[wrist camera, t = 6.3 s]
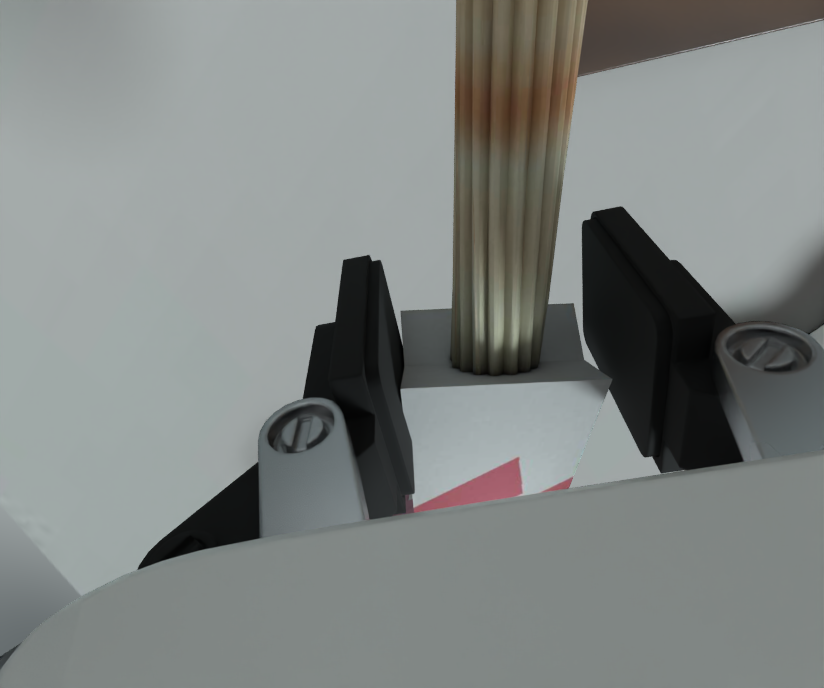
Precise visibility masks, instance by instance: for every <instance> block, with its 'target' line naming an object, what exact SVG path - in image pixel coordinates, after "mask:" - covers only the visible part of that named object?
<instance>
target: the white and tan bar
mask: <svg viewBox="0 0 824 688" xmlns="http://www.w3.org/2000/svg"><path fill="white" fill-rule="evenodd" d="M587 3H588V0H456V70H455V147H454V223H453V292H452V309H432V310H409V311H401V324H402V338H403V352H404V372H403V377H402V383H401V388H400V389H401V398H402V407H403V413H404V416H405V419H406V423H407V426H408V429H409V433H410V436H411V439H412V446H413V464H414V482H415V493H414V494H412V497H413V506H414V513H416V512H422V511H429V510H435V509H441V508H447V507H454V506H460V505H466V504H472V503H479V502H485V501H491V500H498V499H504V498H511V497H517V496H523V495H530V494H536V493H543V492H549V491H556V490H562V489H569V486H570V484H571V481H572V479H573V476H574V474H575V471H576V469H577V466H578V464H579V461H580V459H581V456H582V454H583V451H584V449H585V446H586V444H587V442H588V439H589V437H590V434H591V432H592V429H593V427H594V424H595V422H596V419H597V417H598V414H599V412H600V409H601V407H602V404H603V402H604V399H605V397H606V394H607V392H608V389H609V387H610V384H611V382H612V379H611V378H610V377H608V376H607V375H605V374H604V373H602V372H601V371H600V370H598V369H597V368H595V367H594V366H592V365H591V364H589V363H588V362H586V361H585V360H584V357H583V352H582V346H581V341H580V335H579V330H578V325H577V319H576V314H575V308H574V303H571V304H548V299H549V292H550V283H551V275H552V267H553V259H554V251H555V243H556V234H557V226H558V218H559V210H560V202H561V194H562V185H563V177H564V170H565V163H566V156H567V148H568V141H569V134H570V126H571V119H572V112H573V105H574V97H575V90H576V83H577V75H578V68H579V61H580V54H581V46H582V39H583V32H584V24H585V17H586V10H587Z"/></svg>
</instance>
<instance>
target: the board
mask: <svg viewBox="0 0 824 688" xmlns="http://www.w3.org/2000/svg"><path fill="white" fill-rule="evenodd" d="M822 20H824V0H588V3H587V10H586V17H585V24H584V32H583V39H582V46H581V54H580V61H579V68H578V75H577V77H580V76H584V75H588V74H593V73H597V72H601V71H606V70H610V69H614V68H619V67H623V66H627V65H632V64H636V63H640V62H645V61H649V60H653V59H658V58H662V57H666V56H671V55H675V54H679V53H684V52H688V51H692V50H697V49H701V48H705V47H710V46H714V45H718V44H723V43H727V42H731V41H736V40H740V39H744V38H749V37H753V36H757V35H762V34H766V33H770V32H775V31H779V30H783V29H788V28H792V27H796V26H801V25H805V24H809V23H814V22H818V21H822Z"/></svg>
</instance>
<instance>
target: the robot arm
mask: <svg viewBox="0 0 824 688" xmlns="http://www.w3.org/2000/svg"><path fill="white" fill-rule="evenodd" d="M582 278H583V332H584V337H585V341H586V344H587V346H588V348H589V350H590V352H591V354H592V356H593V358H594V360H595V362H596V364H597V366H598V368H599V370H600V371H601V372H602V373H604V374H605V375H607V376H608V377H610V378H611V379H612V382H611V384H610V387H609V390H610V392H611V394H612V396H613V398H614V400H615V402H616V404H617V406H618V408H619V410H620V412H621V414H622V416H623V418H624V420H625V422H626V424H627V426H628V428H629V430H630V432H631V434H632V436H633V438H634V440H635V442H636V444H637V446H638V448H639V450H640V452H641V454H642V455H643V456H644V457H651V456H652V457H653V459H654V461H655V463H656V465H657V467H658V469H659V471H660V472H661V473H666V474H660V475H653V476H647V477H640V478H634V479H627V480H621V481H614V482H608V483H601V484H594V485H588V486H581V487H575V488H569V489H562V490H556V491H549V492H543V493H536V494H530V495H523V496H517V497H511V498H504V499H498V500H491V501H485V502H479V503H472V504H466V505H460V506H454V507H447V508H441V509H435V510H429V511H422V512H416V513H410V514H404V515H397V516H393V515H396V514H402V513H406V500H405V495H410V494H414V493H415V482H414V464H413V446H412V439H411V436H410V433H409V429H408V426H407V423H406V419H405V416H404V413H403V407H402V398H401V389H400V388H401V383H402V377H403V372H404V352H403V345H402V341H401V337H400V334H399V330H398V326H397V322H396V318H395V314H394V310H393V306H392V302H391V298H390V294H389V290H388V286H387V282H386V278H385V274H384V270H383V266H382V263H381V260H377V261H372V260H371V258H370V256H369V255H367V256H362V257H356V258H351V259H346V260H343V266H342V274H341V281H340V289H339V297H338V305H337V313H336V320H335V322H333V323H327V324H322V325H318V326H316V329H315V333H314V339H313V344H312V350H311V356H310V361H309V367H308V373H307V378H306V384H305V390H304V395H303V399H301V400H297V401H295V402H292V403H290V404H287V405H285V406H284V407H282V408H281V409H279V410H278V411H276V412H275V413H274V414H273V415H272V416H271V417H270V418H269V419H268V420H267V421H266V422H265V423H264V425H263V427H262V429H261V430H260V434H259V439H258V462H257V463H256V464H255V465H254V466H252V467H251V468H250V469H249V470H247V471H246V472H245V473H244V474H242V475H241V476H240V477H239V478H237V479H236V480H235V481H234V482H233V483H231V484H230V485H229V486H228V487H226V488H225V489H224V490H223V491H221V492H220V493H219V494H218V495H216V496H215V497H214V498H213V499H211V500H210V501H209V502H208V503H206V504H205V505H204V506H203V507H201V508H200V509H199V510H198V511H196V512H195V513H194V514H193V515H191V516H190V517H189V518H188V519H186V520H185V521H184V522H183V523H181V524H180V525H179V526H178V527H177V528H175V529H174V530H173V531H172V532H170V533H169V534H168V535H167V536H165V537H164V538H163V539H162V540H160V541H159V542H158V543H157V544H156V545H155V546H154V547H153V548H152V549H151V550H150V551H149V552H148V553H147V555H146V556H145V558H144V559H143V561H142V562H141V564H140V565H139V567H138V570H136V571H134V572H131V573H128V574H126V575H123V576H121V577H119V578H117V579H115V580H113V581H111V582H109V583H107V584H105V585H103V586H101V587H99V588H97V589H95V590H93V591H91V592H89V593H87V594H85V595H83V596H82V597H80V598H78V599H77V600H75V601H73V602H72V603H70V604H68V605H67V606H65V607H64V608H62V609H61V610H59V611H58V612H56V613H55V614H54V615H52V616H51V617H49V618H48V619H46V620H45V621H44V622H43V623H42V624H41V625H40V626H38V627H37V628H36V629H35V630H34V631H33V632H32V633H31V634H29V635H28V637H27V638H26V639H25V640H24V641H23V642H22V643H20V644H19V645H17V646H16V647H14V648H13V649H11V650H9V651H8V652H6V653H5V654H3V655H2V656H0V688H824V349H823V347H822V346H821V345H820V344H819V343H818V342H817V341H816V340H815V339H814V338H813V337H812V336H810V335H808V334H807V333H805V332H803V331H802V330H800V329H797V328H794V327H791V326H788V325H785V324H780V323H774V322H767V321H751V322H744V323H738V324H735V323H734V322H733V320H732V319H731V318H730V317H729V316H728V315H727V314H726V313H725V312H724V311H723V309H722V308H721V307H720V306H719V305H718V304H717V303H716V302H715V301H714V300H713V298H712V297H711V296H710V295H709V294H708V293H707V292H706V291H705V290H704V289H703V288H702V286H701V285H700V284H699V283H698V282H697V281H696V280H695V279H694V278H693V277H692V275H691V274H690V273H689V272H688V271H687V270H686V269H685V268H684V267H683V266H682V264H681V263H679V262H678V261H677V260H669V259H668V258H667V256H666V255H665V254H664V253H663V252H662V251H661V250H660V248H659V247H658V246H657V245H656V244H655V243H654V242H653V241H652V239H651V238H650V237H649V236H648V235H647V234H646V233H645V232H644V230H643V229H642V228H641V227H640V226H639V225H638V224H637V223H636V221H635V220H634V219H633V218H632V217H631V216H630V215H629V214H628V212H627V211H626V210H625V209H624V208H623V207H615V208H610V209H605V210H600V211H595V212H593V213H592V214H591V219H590V220H585V221H583V224H582ZM680 470H686V471H680ZM674 471H679V472H674ZM667 472H673V473H667Z"/></svg>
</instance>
